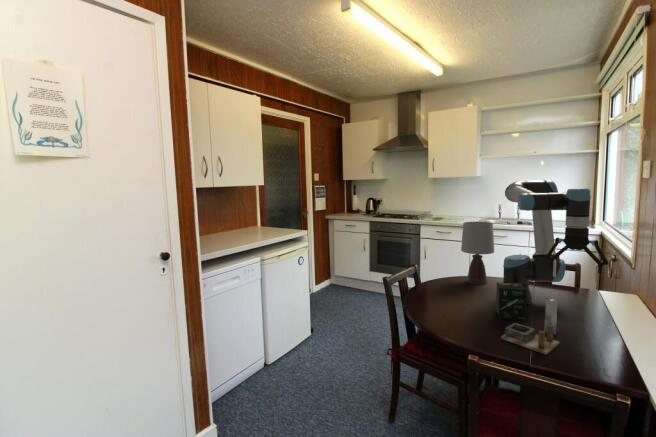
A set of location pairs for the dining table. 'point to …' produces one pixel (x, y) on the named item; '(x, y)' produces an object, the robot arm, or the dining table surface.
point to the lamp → (477, 248)
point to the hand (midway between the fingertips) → (574, 278)
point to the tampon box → (511, 301)
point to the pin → (550, 314)
